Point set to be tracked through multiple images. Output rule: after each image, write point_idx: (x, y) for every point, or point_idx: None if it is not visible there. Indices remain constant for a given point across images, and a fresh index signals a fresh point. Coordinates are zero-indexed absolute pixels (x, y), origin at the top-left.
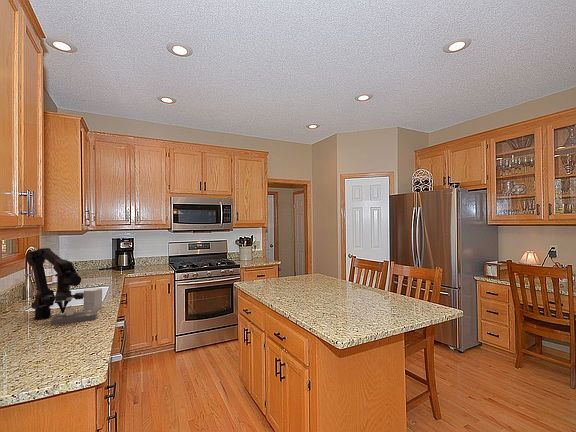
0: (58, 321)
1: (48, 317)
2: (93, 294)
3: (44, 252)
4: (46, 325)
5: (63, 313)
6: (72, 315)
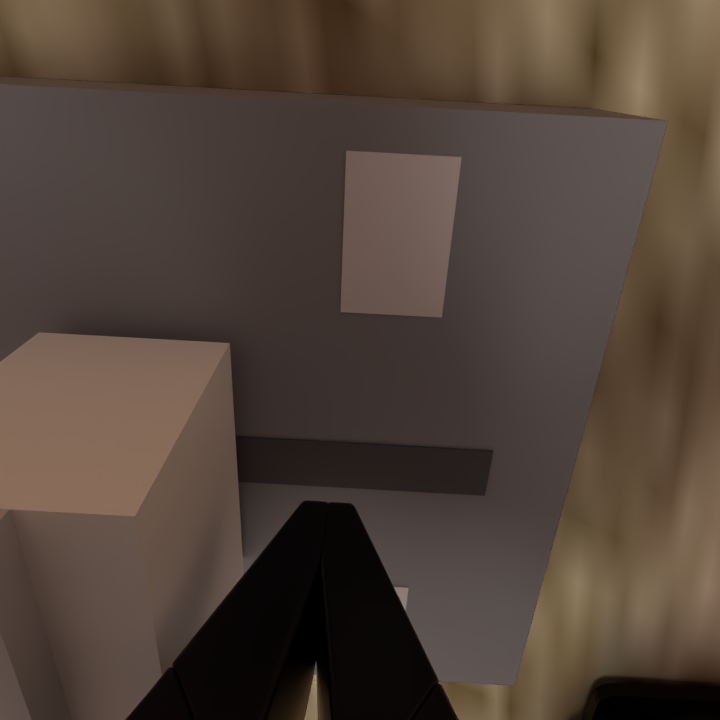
0: (421, 102)
1: (597, 701)
2: None
3: None
4: (681, 210)
5: None
6: None
